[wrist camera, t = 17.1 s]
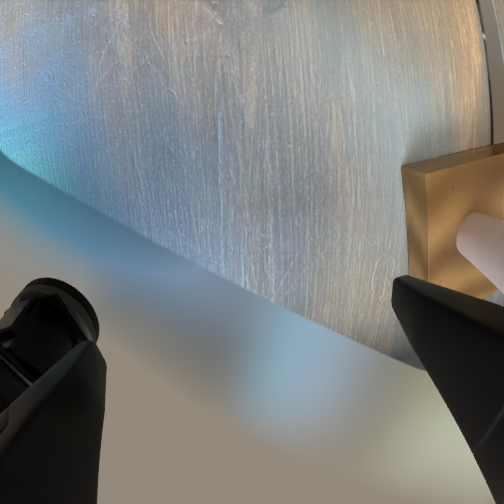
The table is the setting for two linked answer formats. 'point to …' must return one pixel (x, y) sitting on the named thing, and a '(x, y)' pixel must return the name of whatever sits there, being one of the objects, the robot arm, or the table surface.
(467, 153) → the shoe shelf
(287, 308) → the table surface
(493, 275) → the smoothie
